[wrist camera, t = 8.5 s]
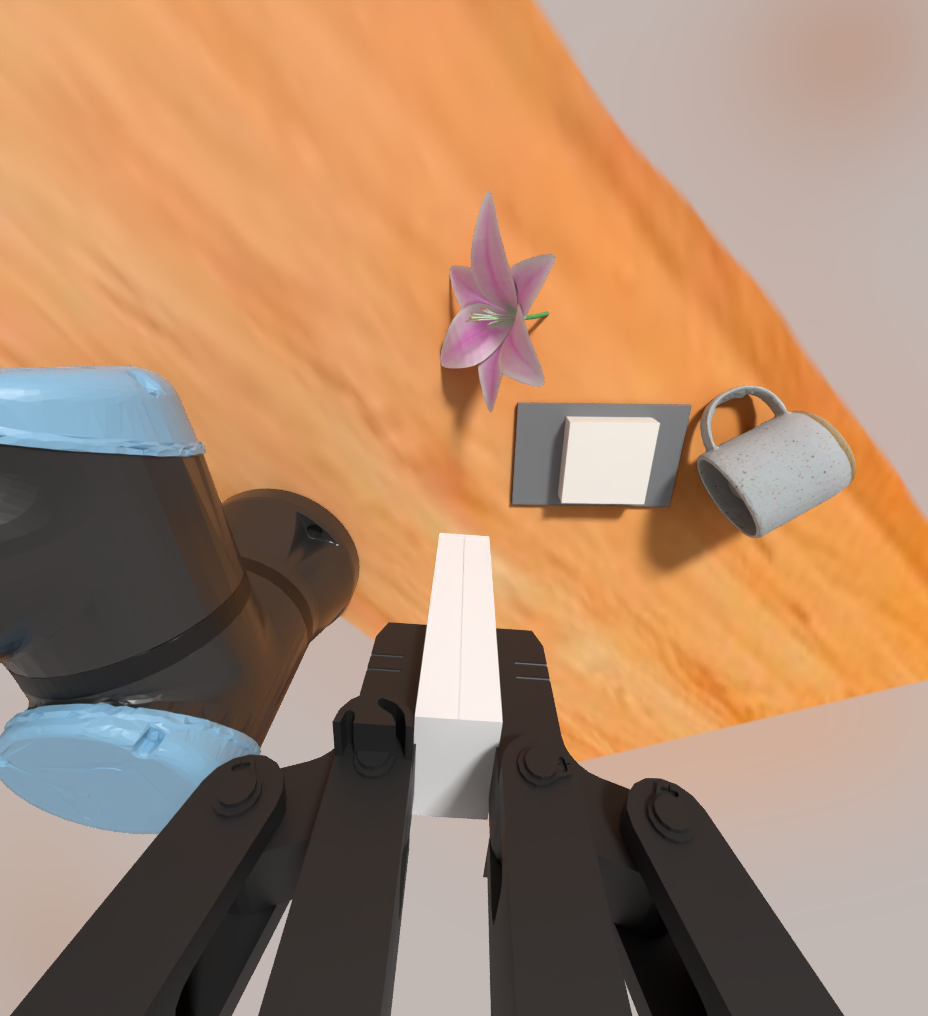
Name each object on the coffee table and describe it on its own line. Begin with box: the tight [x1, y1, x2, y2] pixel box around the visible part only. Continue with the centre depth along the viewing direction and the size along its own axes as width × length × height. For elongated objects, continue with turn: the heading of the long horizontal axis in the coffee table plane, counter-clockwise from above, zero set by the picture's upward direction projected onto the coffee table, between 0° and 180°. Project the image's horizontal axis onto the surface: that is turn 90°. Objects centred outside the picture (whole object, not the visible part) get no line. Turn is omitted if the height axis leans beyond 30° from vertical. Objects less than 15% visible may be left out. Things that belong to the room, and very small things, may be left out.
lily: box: [440, 190, 555, 412], centre depth 31 cm, size 12×12×10 cm
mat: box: [512, 403, 691, 507], centre depth 38 cm, size 14×9×1 cm, turn 89°
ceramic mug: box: [697, 386, 856, 538], centre depth 35 cm, size 11×8×8 cm
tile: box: [558, 416, 660, 504], centre depth 37 cm, size 2×7×7 cm
